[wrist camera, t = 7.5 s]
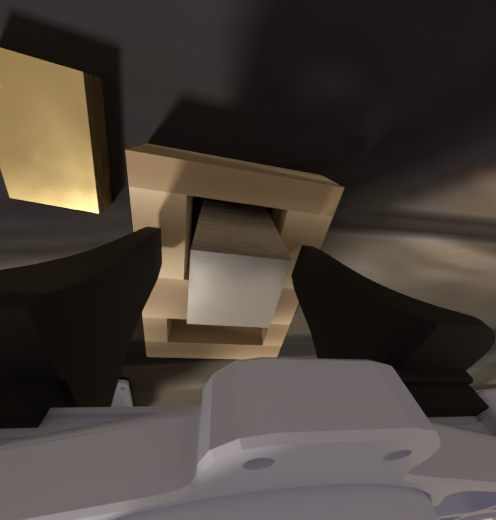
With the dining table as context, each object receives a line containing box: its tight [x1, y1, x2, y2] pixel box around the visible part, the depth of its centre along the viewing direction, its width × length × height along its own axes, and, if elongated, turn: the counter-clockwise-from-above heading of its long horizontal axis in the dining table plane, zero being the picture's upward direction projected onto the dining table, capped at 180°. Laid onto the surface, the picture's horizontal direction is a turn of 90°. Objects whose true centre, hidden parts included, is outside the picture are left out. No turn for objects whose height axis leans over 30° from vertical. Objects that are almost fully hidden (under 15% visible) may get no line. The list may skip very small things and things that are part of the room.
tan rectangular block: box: [0, 48, 112, 213], centre depth 11 cm, size 6×4×2 cm, turn 166°
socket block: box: [125, 144, 344, 359], centre depth 15 cm, size 14×10×3 cm
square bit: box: [187, 198, 292, 328], centre depth 11 cm, size 4×4×7 cm
